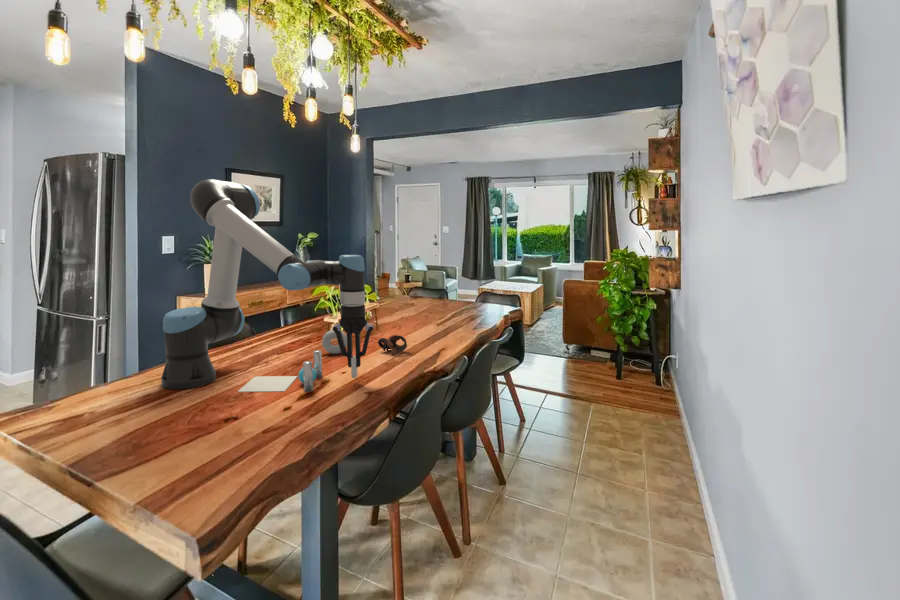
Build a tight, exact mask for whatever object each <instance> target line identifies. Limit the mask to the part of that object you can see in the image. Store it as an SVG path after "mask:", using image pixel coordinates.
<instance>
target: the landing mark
mask: <svg viewBox="0 0 900 600" xmlns="http://www.w3.org/2000/svg"><path fill="white" fill-rule="evenodd" d="M297 378H299V377H298V375H296V376H295V375H279V376H278V375H274V376H270V375H266V376H265V375H263V376H260V375H259V376H254V377H253V378H251V379H250V380H249V381H248V382H247V383H245V384H244V385H243V386H242V387H241V388H239V390H237V393H268V392H269V393H270V392H271V393H272V392H274V393H275V392H277V393H278V392H280V393H281V392H282V393H285V392H286V391H287V389H288V388H289V387H291V385H292V384H293V383H294V381H296V379H297Z"/></svg>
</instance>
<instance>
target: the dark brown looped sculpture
mask: <svg viewBox="0 0 900 600" xmlns="http://www.w3.org/2000/svg"><path fill="white" fill-rule="evenodd" d="M399 340H401V341H402V342H403V344H401V345H400V344H398V343H397V342H398V341H399ZM377 344H378V346H379V348H381V349H382V350H383V351H384V352H386V350H388V349H390V350H391V351H390V355H391V354H392V355H391V356H393V355H394V356H395V355H397V354H399V353H402V352H405V350H407V347H408V344H407V340H406V338H405V337H404V336H403V335H399V334H392V335H390V336H389V337H388V338H385V337H380V338H379V339H378V341H377ZM388 351H389V350H388Z"/></svg>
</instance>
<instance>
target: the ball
mask: <svg viewBox="0 0 900 600" xmlns="http://www.w3.org/2000/svg"><path fill="white" fill-rule="evenodd" d="M312 373H313V383H314V382H315V380H316V379H317V378H316V371H315V370H314V367H312ZM297 376H298V377H297V378H298V380H299V381H300V383H301V384H303V385H304V373H303V367H302V368H301V369H299V372H298V375H297Z"/></svg>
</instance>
